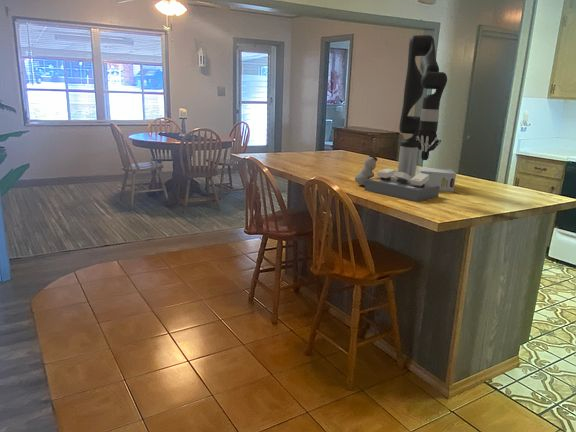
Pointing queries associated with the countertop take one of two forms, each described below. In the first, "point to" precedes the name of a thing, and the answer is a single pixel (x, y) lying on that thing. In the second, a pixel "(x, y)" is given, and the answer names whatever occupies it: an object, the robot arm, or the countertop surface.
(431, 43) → the robot arm
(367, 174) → the figurine
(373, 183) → the grey tray
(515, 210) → the countertop surface
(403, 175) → the switch
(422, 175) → the switch
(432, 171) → the supplement box
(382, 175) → the switch
